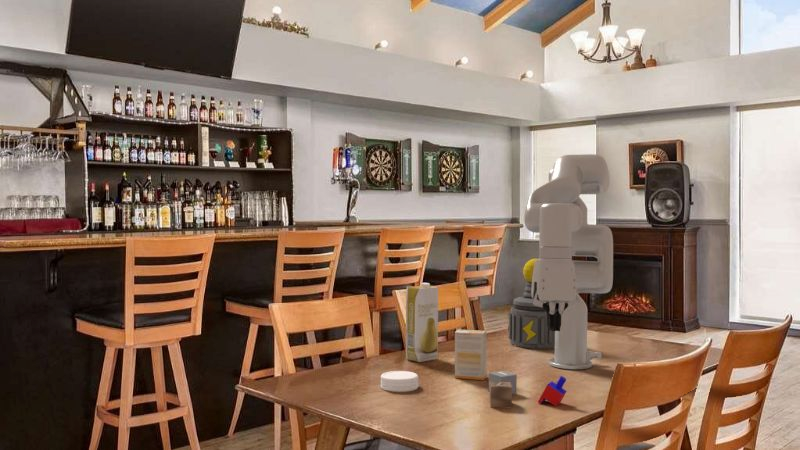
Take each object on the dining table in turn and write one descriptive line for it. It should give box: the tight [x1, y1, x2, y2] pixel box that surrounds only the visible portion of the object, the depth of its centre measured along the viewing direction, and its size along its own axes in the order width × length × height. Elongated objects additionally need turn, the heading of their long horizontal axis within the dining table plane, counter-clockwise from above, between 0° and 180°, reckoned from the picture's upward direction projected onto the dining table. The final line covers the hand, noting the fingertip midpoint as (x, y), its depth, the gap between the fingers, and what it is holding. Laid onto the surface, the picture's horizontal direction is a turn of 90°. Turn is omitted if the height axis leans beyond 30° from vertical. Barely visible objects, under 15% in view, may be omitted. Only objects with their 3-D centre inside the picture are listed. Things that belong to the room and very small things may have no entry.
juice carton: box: [405, 282, 439, 363], centre depth 218 cm, size 9×8×24 cm
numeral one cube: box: [488, 370, 518, 395], centre depth 179 cm, size 5×5×5 cm
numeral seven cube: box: [488, 382, 513, 409], centre depth 168 cm, size 5×5×5 cm
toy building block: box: [537, 376, 567, 407], centre depth 169 cm, size 4×4×8 cm
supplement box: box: [454, 329, 488, 381], centre depth 195 cm, size 8×5×13 cm, turn 71°
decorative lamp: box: [507, 258, 555, 350], centre depth 244 cm, size 19×19×30 cm
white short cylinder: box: [380, 370, 419, 393], centre depth 184 cm, size 10×10×4 cm
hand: (553, 330), depth 169 cm, fingers closed
